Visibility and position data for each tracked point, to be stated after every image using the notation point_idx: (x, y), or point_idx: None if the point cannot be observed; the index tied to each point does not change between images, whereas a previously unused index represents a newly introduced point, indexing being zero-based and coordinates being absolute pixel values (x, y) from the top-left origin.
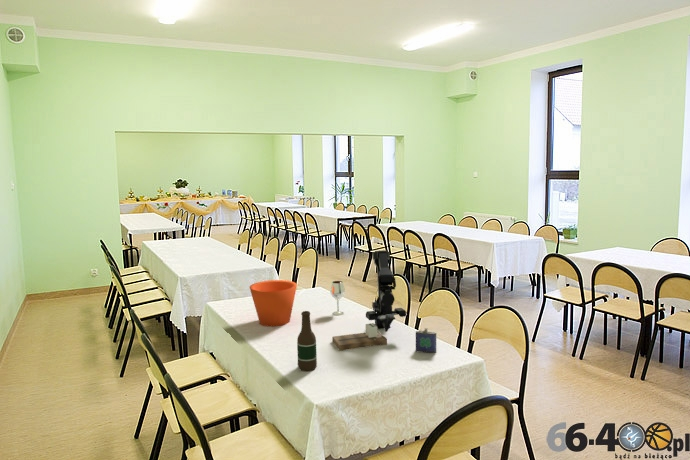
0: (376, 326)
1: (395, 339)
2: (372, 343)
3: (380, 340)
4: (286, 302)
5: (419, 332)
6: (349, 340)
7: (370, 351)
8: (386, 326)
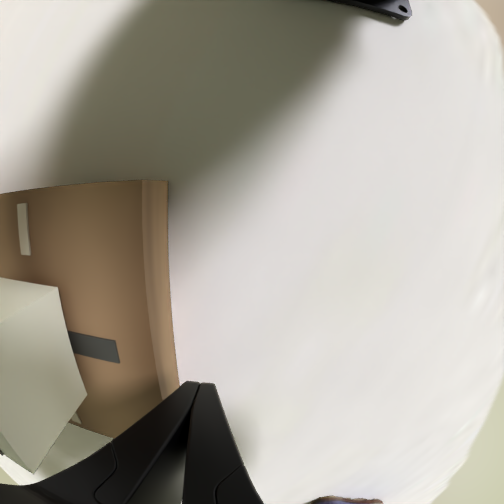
0: (26, 469)
1: (312, 356)
2: None
3: (117, 434)
4: None
5: None
6: None
7: (70, 434)
8: (174, 493)
